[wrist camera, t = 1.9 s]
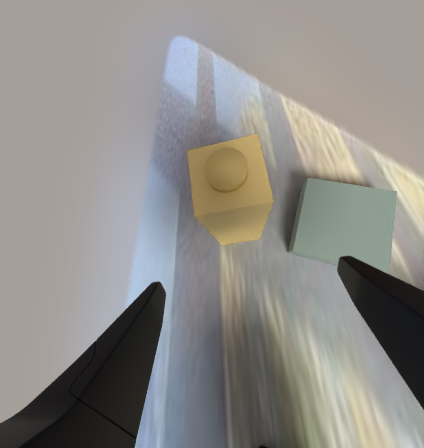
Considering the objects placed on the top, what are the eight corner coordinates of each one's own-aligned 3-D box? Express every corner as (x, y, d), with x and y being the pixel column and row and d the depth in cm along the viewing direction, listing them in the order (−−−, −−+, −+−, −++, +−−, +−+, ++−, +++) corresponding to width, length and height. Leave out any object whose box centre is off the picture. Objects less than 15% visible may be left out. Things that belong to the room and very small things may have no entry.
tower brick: (260, 239, 21) (276, 195, 9) (221, 245, 22) (190, 212, 10) (252, 203, 23) (258, 123, 10) (216, 210, 23) (183, 142, 11)
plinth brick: (370, 274, 19) (388, 274, 16) (287, 252, 20) (293, 250, 18) (379, 201, 20) (396, 191, 18) (301, 187, 22) (307, 177, 20)
